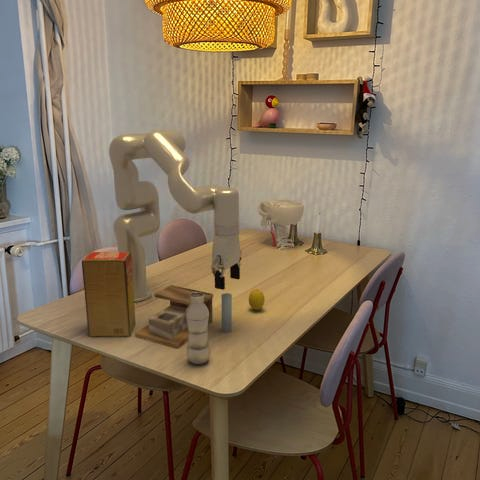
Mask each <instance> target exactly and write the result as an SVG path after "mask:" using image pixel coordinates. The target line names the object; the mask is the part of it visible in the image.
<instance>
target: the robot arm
mask: <svg viewBox="0 0 480 480" xmlns="http://www.w3.org/2000/svg"><path fill="white" fill-rule="evenodd" d="M185 149H186V139H185V137H184V135H183V134H182V133H181V132H179V131H178V130H175V129H160V130H159V129H157V130H152V131H150V132H145V133H142V132H141V133H126V134H125V133H124V134H122V135H117V136H116V137H114V138H113V139H112V140H111V142H110V145H109V149H108V156H109V160H110V164H111V167H112V171H113V173H112V174H113V183H114V196H115V203H116V205H117V207H118V208H119V209H120V210H121V211H133V210H137V209H139V211H134V212H129V213H124V214H121V215H118V217H116V219H115V220H114V222H113V224H112V225H113V226H112V227H113V228H112V229H113V233H114V236H115V240H116V243H117V244H116V246H117V252H131V258H132V273H133V291H134V303H137V302H138V303H139V302H143V301H146V300H148V299H149V298H150V297H151V296H152V290H151V289H150V288H148V283H147V281H148V280H147V266H146V263H147V262H146V251H145V247H144V245H143V244H142V243H141V241H140V239H142V238H144V237H147V236H152V235H154V234H156V233H157V232H158V230H159V229H160V225H161V216H160V212H161V211H160V200H159V199H160V198H159V192H158V189H157V187H156V186H155V184H154V183H153V182H151V181H150V180H140V177H139V176H140V175H139V170H138V167H137V165H136V163H135V162H134V161H133V160H142V159H152V160H153V161H154V162H155V164H156V165H158V167H160V168H161V170H162V171H163V173H165V174H166V176H167V184H168V185H167V186H168V189H169V192H170V195H171V196H172V198H173V200H174V201H175V202H176V203H177V204H178V205H179V206H180V207H181V208H182V209H183V210H185V212H187V213H190V214H195V215H196V214H199V213H203V212H207V211H212V210H213V231H214V232H213V234H214V236H213V240H212V250H211V251H212V252H211V266H210V268H211V272H212V274H213V276H214V288H215V289H218V290H222V291H223V290H225V289H226V281H225V279H226V277H225V276H224V275H225V272H226V270H228V269H229V272H230V274H229V276H230V279H234V280H240V278H241V275H240V274H241V261H242V253H243V251H242V250H241V246H240V245H241V244H240V194H239V191H238V190H237V189H236V188H232V187H223V186H220V185H216V184H207V185H203V186H202V185H201V186H197V187H192V186H191V185H190V184H189V183H188V182H187V181H186V180H185V178H184V177H183V175H185V174H186V172H187V171H188V169H190V168H189V167H190V165H191V163H190V162H191V161H190V159H189V157H188V156H187V155H186V154H185V153H184V151H185Z"/></svg>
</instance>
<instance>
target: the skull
mask: <svg viewBox="0 0 480 480" xmlns="http://www.w3.org/2000/svg"><path fill="white" fill-rule="evenodd" d="M258 201H259V204H258V207H257V213H258V215H260V216H261V220H260V226H261V227H262V228H263V229H267V227H268V226H270V235H271V237H272V243H273V244H272V247H274V248H275V245H276V248H278V251H280V250H284V249H287V248H290V247H291V248H294V247H295V244H294V242H292V239H291V238H287V237H289V233H288V231H287V230H288V227H287V226H290V225H294V226H297V224H298V223H299V222H300V221H301V219H302V217H303V214H304V211H305V210H304V209H305V204H304V202H302V201H298V200H292V199H291V200H290V199H277V198H272V200H270V201H267V200H258Z"/></svg>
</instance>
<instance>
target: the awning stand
mask: <svg viewBox="0 0 480 480" xmlns="http://www.w3.org/2000/svg"><path fill="white" fill-rule="evenodd" d="M194 292H200V293H203V294H204V302H203V303H204V304H205V305H206V307H207V308H208V310H209V319H208V326H209V325H211V324H212V323H213V322H214V321H213V318H214V317H213V298H214V294H213V293H210V292H205V291H200V290H195V289H191V288H188V287H187V288H185V287H182V286H178V285H177V286H176V285H173V284H169V286H166V287H165V288H162V290H159V291H157V292H156V293H154V297H155V298H157V299H162V300H166V301H169V305H168V306H167V307H165V308H164V309H162V310H160V311H159V312H157V313H156V314H154V315H152V316H151V317H150V318H148V324H147V325H146V326H144V327H142V328H141V329H139V330H137V331H136V332H135V333H134V337H135V336H136V338H138V337H140V338H139V339H142V338H144V339H143V340H146V339H148V340H147V341H149V340H151V341H150V342H153V341H154V343H156V342H157V343H156V344H160V343H161V344H160V345H163V344H164V345H165V346H168V347H171V348H175V349H180V348H181V347H182V346H184V345H185V344H186V343H188V326H187V320H186V314H185V312H186V309H187V307H188V306H189V305H190V303H191V302H190V294H191V293H194Z"/></svg>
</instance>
